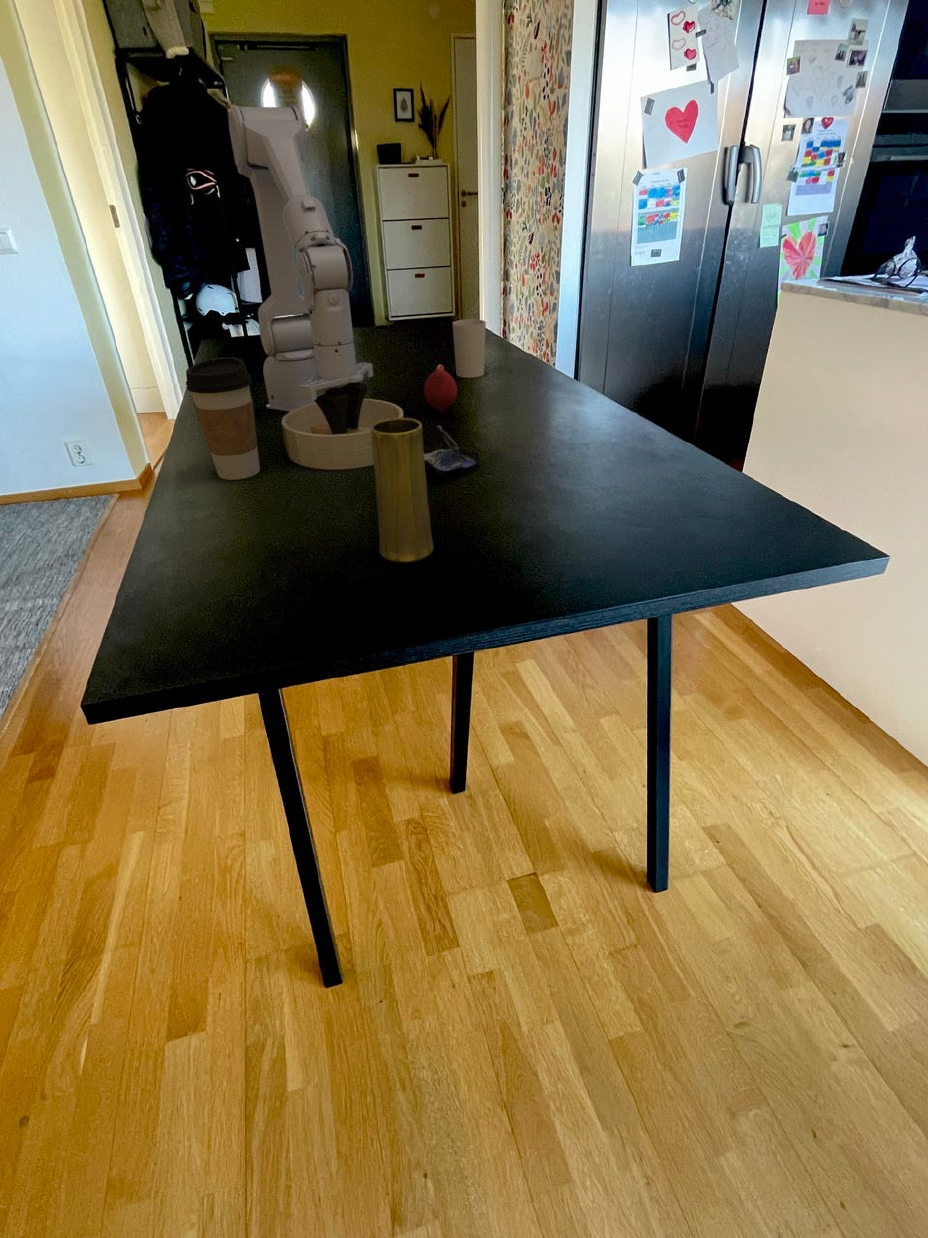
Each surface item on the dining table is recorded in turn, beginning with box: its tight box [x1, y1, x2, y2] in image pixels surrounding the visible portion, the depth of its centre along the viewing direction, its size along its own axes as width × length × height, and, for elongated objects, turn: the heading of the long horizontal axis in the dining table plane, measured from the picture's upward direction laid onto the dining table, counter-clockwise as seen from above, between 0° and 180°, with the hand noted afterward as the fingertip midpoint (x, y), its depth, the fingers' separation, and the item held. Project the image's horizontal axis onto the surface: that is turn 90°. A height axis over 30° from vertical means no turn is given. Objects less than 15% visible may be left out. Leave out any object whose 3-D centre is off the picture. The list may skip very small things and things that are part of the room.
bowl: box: [280, 398, 405, 471], centre depth 102 cm, size 18×18×5 cm
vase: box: [371, 417, 435, 564], centre depth 71 cm, size 6×6×14 cm
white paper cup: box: [452, 318, 487, 379], centre depth 136 cm, size 7×7×10 cm
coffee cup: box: [185, 356, 261, 481], centre depth 92 cm, size 8×8×15 cm
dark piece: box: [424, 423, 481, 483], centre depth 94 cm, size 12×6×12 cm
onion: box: [423, 364, 458, 413], centre depth 115 cm, size 6×6×8 cm
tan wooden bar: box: [311, 423, 364, 435], centre depth 102 cm, size 12×2×2 cm, turn 61°
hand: (345, 435), depth 102 cm, fingers closed on tan wooden bar, 2 cm apart
